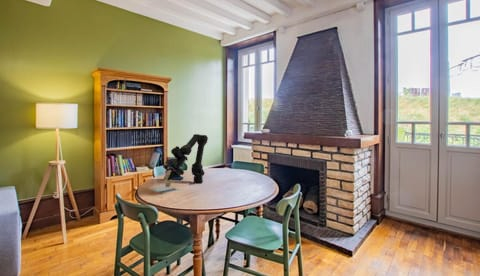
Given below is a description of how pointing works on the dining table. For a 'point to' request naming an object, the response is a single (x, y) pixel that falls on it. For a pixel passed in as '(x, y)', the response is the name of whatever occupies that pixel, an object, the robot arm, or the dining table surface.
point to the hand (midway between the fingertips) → (166, 179)
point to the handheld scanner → (179, 173)
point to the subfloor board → (162, 188)
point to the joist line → (167, 190)
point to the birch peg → (167, 182)
